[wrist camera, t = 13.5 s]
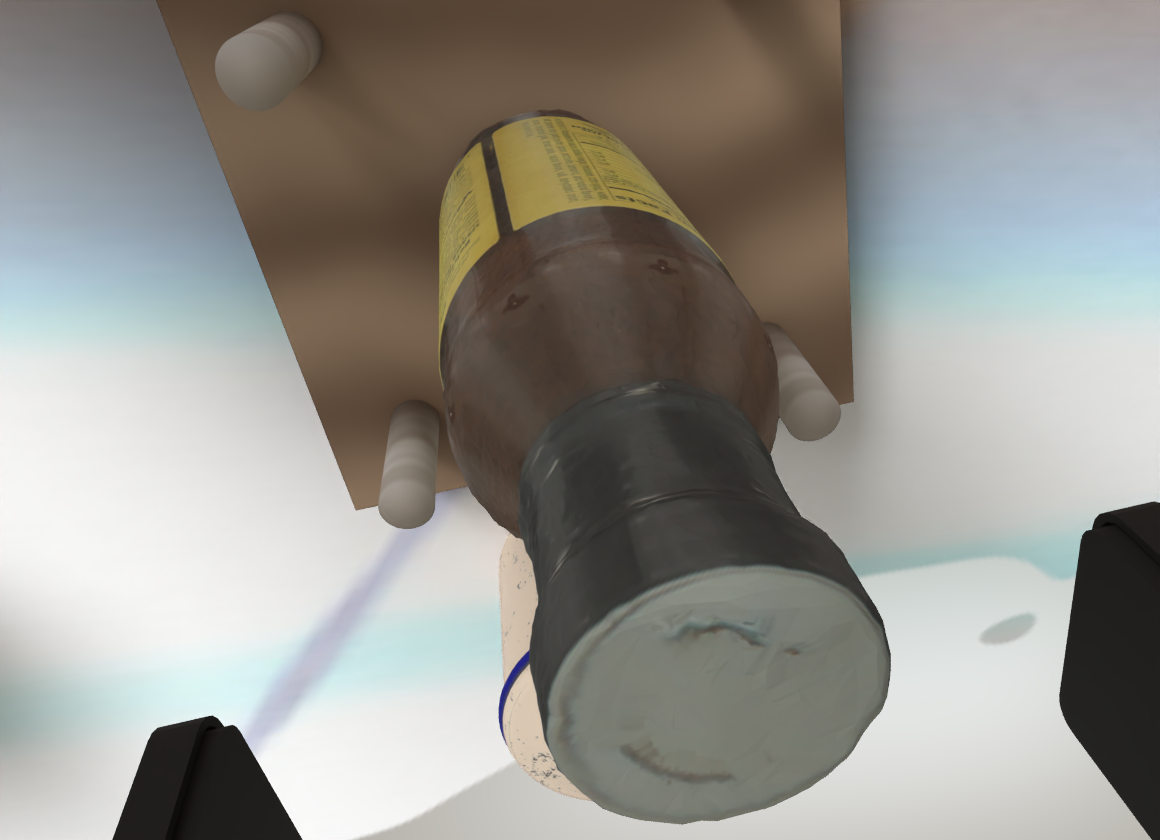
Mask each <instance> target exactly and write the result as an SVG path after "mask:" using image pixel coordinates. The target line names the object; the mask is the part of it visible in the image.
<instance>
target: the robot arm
mask: <svg viewBox="0 0 1160 840" xmlns="http://www.w3.org/2000/svg"><path fill="white" fill-rule="evenodd" d="M1059 697H1060V700H1059V701H1060V706H1061V710H1062V713H1063V716H1064V718H1065V720H1066V723H1067V724H1068V726H1069V728H1070V729H1071V731H1072V732H1073V734H1074V735H1075V736H1076V738H1077V739H1078V741H1079V742H1080V743H1081V744H1082V746H1083V747H1084V749H1085V750H1086V751H1087V753H1088V754H1089V755H1090V757H1091V758H1092V759H1093V761H1094V762H1095V763H1096V765H1097V766H1098V768H1099V769H1100V770H1101V772H1102V773H1103V774H1104V776H1105V777H1106V778H1107V780H1108V781H1109V782H1110V784H1111V785H1112V786H1113V788H1114V789H1115V790H1116V792H1117V793H1118V795H1119V796H1120V797H1121V798H1122V800H1123V801H1124V803H1125V804H1126V805H1127V807H1128V808H1129V809H1130V811H1131V812H1132V813H1133V815H1134V816H1135V817H1136V819H1137V820H1138V822H1139V823H1140V824H1141V826H1142V827H1143V828H1144V830H1145V831H1146V832H1147V834H1148V835H1149V836H1150V838H1151V839H1152V840H1160V503H1158V502H1150V503H1145V504H1141V505H1137V506H1132V507H1128V508H1123V509H1119V510H1114V511H1110V512H1106V513H1102V514H1099V515H1098V516H1097V518H1096V519H1095V521H1094V524H1093V527H1092V530H1088V531H1086V532H1085V533H1084V534H1083V535H1082V539H1081V544H1080V551H1079V558H1078V565H1077V572H1076V579H1075V587H1074V594H1073V601H1072V609H1071V615H1070V623H1069V630H1068V637H1067V644H1066V651H1065V659H1064V666H1063V673H1062V681H1061V687H1060V694H1059ZM112 840H302V838H301V836H300V835H299V833H298V831H297V829H296V828H295V826H294V824H293V822H292V821H291V819H290V817H289V816H288V814H287V812H286V810H285V809H284V807H283V805H282V803H281V802H280V800H279V798H278V796H277V795H276V793H275V791H274V790H273V788H272V786H271V784H270V783H269V781H268V779H267V777H266V776H265V774H264V772H263V770H262V769H261V767H260V765H259V763H258V762H257V760H256V758H255V757H254V755H253V753H252V751H251V750H250V748H249V746H248V744H247V743H246V741H245V739H244V737H243V736H242V734H241V732H240V731H239V730H238V728H237V727H235V726H234V725H230V726H226V727H224V726H223V724H222V723H221V722H220V721H219V719H218V718H216V717H214V716H208V717H203V718H199V719H194V720H190V721H186V722H181V723H177V724H172V725H168V726H163V727H159V728H157V729H156V730H155V731H154V732H153V733H152V734H151V736H150V738H149V740H148V742H147V745H146V748H145V751H144V753H143V756H142V759H141V762H140V764H139V767H138V770H137V773H136V776H135V778H134V781H133V784H132V787H131V789H130V792H129V795H128V798H127V801H126V803H125V806H124V809H123V812H122V814H121V817H120V820H119V823H118V826H117V828H116V831H115V834H114V837H113V839H112Z"/></svg>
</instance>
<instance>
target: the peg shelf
mask: <svg viewBox="0 0 1160 840" xmlns="http://www.w3.org/2000/svg"><path fill="white" fill-rule="evenodd" d="M156 1H157V4H158V6H159V9H160V11H161V14H162V16H163V19H164V22H165V24H166V27H167V29H168V32H169V34H170V37H171V39H172V42H173V45H174V47H175V50H176V52H177V55H178V57H179V60H180V62H181V65H182V68H183V70H184V73H185V75H186V78H187V80H188V83H189V85H190V88H191V91H192V93H193V96H194V98H195V101H196V103H197V106H198V108H199V111H200V114H201V116H202V119H203V121H204V124H205V126H206V129H207V131H208V134H209V137H210V139H211V142H212V144H213V147H214V149H215V152H216V154H217V157H218V160H219V162H220V165H221V167H222V170H223V172H224V175H225V177H226V180H227V183H228V185H229V188H230V190H231V193H232V195H233V198H234V200H235V203H236V205H237V208H238V211H239V213H240V216H241V218H242V221H243V223H244V226H245V228H246V231H247V234H248V236H249V239H250V241H251V244H252V246H253V249H254V251H255V254H256V257H257V259H258V262H259V264H260V267H261V269H262V272H263V274H264V277H265V280H266V282H267V285H268V287H269V290H270V292H271V295H272V297H273V300H274V303H275V305H276V308H277V310H278V313H279V315H280V318H281V320H282V323H283V326H284V328H285V331H286V333H287V336H288V338H289V341H290V343H291V346H292V349H293V351H294V354H295V356H296V359H297V361H298V364H299V366H300V369H301V372H302V374H303V377H304V379H305V382H306V384H307V387H308V389H309V392H310V395H311V397H312V400H313V402H314V405H315V407H316V410H317V412H318V415H319V418H320V420H321V423H322V425H323V428H324V430H325V433H326V435H327V438H328V441H329V443H330V446H331V448H332V451H333V453H334V456H335V458H336V461H337V464H338V466H339V469H340V471H341V474H342V476H343V479H344V481H345V484H346V487H347V489H348V492H349V494H350V497H351V499H352V502H353V504H354V507H355V510H361V509H365V508H370V507H374V506H378V508H379V512H380V515H381V516H382V518H383V519H384V520H385V521H386V522H387V523H389V524H390V525H392V526H395V527H397V528H402V529H412V528H416V527H419V526H422V525H423V524H425V523H426V522H428V521H429V520H430V518H431V517H432V515H433V513H434V509H435V493H438V492H443V491H448V490H452V489H457V488H461V487H466V486H468V485H467V483H466V481H465V480H464V477H463V474H462V472H461V470H460V469H459V466H458V464H457V462H456V460H455V458H454V454H453V452H452V450H451V445H450V443H449V437H448V434H447V424H446V414H445V410H444V398H443V392H444V390H443V386H442V381H441V376H440V371H439V276H440V275H439V219H440V211H441V204H442V200H443V196H444V192H445V189H446V187H447V184H448V181H449V179H450V177H451V175H452V173H453V171H454V168H455V166H456V164H457V162H458V160H459V159H460V157H461V156H462V155H463V153H464V152H465V150H466V149H467V147H468V145H469V143H470V141H471V140H472V139H473V138H475V137H476V136H477V135H478V134H479V133H480V132H481V131H482V130H484V129H485V128H487V127H490V126H492V125H494V124H496V123H497V122H500V121H502V120H504V119H506V118H510V117H512V116H516V115H519V114H522V113H527V112H532V111H538V110H556V109H560V110H565V111H569V112H572V113H574V114H577V115H579V116H581V117H583V118H584V119H586V120H588V121H591V122H593V123H594V124H596V125H598V126H599V127H601V128H603V129H605V130H607V131H608V132H610V133H612V134H613V135H614V136H616V137H617V138H618V139H620V140H621V141H622V142H623V143H624V144H625V145H626V146H627V147H628V148H629V149H630V150H631V151H632V152H633V153H634V154H635V155H636V157H637V158H638V159H639V160H640V161H641V162H642V164H643V165H644V166H645V167H646V169H647V170H648V171H649V172H650V173H651V175H652V176H653V177H654V179H655V180H656V181H657V182H658V184H659V185H660V186H661V187H662V188H663V190H664V191H665V192H666V193H667V195H668V196H669V197H670V198H671V199H672V201H673V202H674V203H675V204H676V206H677V207H678V208H679V209H680V210H681V212H682V213H683V214H684V215H685V217H686V218H687V219H688V220H689V222H690V223H691V224H692V225H693V226H694V228H695V229H696V230H697V231H698V232H699V233H700V235H701V236H702V237H703V238H704V239H705V241H706V242H707V243H708V244H709V245H710V246H711V248H712V249H713V250H714V251H715V252H716V254H717V255H718V256H719V257H720V259H721V260H722V262H723V263H724V264H725V266H726V267H727V269H728V270H729V272H730V273H731V275H732V277H733V279H734V281H735V283H736V286H737V287H738V289H739V290H740V291H741V292H742V294H743V295H744V296H745V298H746V299H747V301H748V302H749V304H750V305H751V307H752V308H753V309H754V310H755V312H756V314H757V316H758V317H759V319H760V321H761V322H762V324H763V326H764V328H765V330H766V331H767V333H768V334H769V336H770V338H771V342H772V345H773V348H774V352H775V355H776V359H777V364H778V378H779V391H780V403H779V406H780V408H779V418H781V419H782V421H783V422H784V424H785V426H786V427H787V429H788V431H789V432H790V433H791V435H792V436H794V437H795V438H797V439H799V440H802V441H815V440H819V439H821V438H823V437H825V436H827V435H828V434H829V433H831V432H832V431H833V430H834V428H835V427H836V426H837V424H838V422H839V419H840V415H841V410H840V406H839V405H841V404H846V403H850V402H854V394H853V366H852V337H851V308H850V280H849V251H848V223H847V194H846V165H845V137H844V108H843V79H842V51H841V22H840V0H156Z"/></svg>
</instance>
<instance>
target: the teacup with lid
mask: <svg viewBox="0 0 1160 840" xmlns="http://www.w3.org/2000/svg"><path fill="white" fill-rule="evenodd" d="M499 587H500V609H501V630H502V652H503V673H504V687H503V690H502V693H501V697H500V703H499V723H500V729H501V732H502V736H503V738H504V740H505V743H506V745H507V746H508V748H509V751H510V753H511V754H512V756H513V757H514V759H515V760H516V762H517V763H518V764H519V765H520V766H521V768H522V769H524V771H525V772H526V773H527V774H528V775H529V776H531V777H532V778H533V779H535V780H536V781H537V782H539V783H540V784H542V785H544V786H545V787H547V788H549V789H551V790H553V791H555V792H558V793H560V794H563V795H566V796H570V797H573V798H577V799H582V800H588V801H592V800H591V799H589V798H588V797H587V796H585V795H584V794H583V793H581V792H580V791H579V790H578V789H577V788H576V787H575V786H574V785H573V784H572V783H571V782H570V781H569V780H568V779H567V778H566V776H564V775H563V774H562V773H561V772H560V771H558V770H557V767H556V763H555V760H554V758H553V756H552V754H551V752H550V750H549V748H548V746H547V744H546V742H545V740H544V735H543V728H542V722H541V717H540V712H539V708H538V704H537V695H536V690H535V687H534V683H533V679H532V675H531V671H530V663H529V649H530V639H531V634H532V624H533V621H534V616H535V610H536V608H537V606H538V594H537V589H536V582H535V576H534V571H533V565H532V561H531V559H530V557H529V556H528V554H527V552H526V550H525V546H524V542H523V540H522V539H520V538H515V537H514V536H513V535H512V534H511V533H510V534H509V536H508V538H507V539H506V541H505V544H504V546H503V549H502V553H501V557H500V563H499Z"/></svg>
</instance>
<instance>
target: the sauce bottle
mask: <svg viewBox="0 0 1160 840" xmlns="http://www.w3.org/2000/svg"><path fill="white" fill-rule="evenodd" d="M439 275H440V276H439V371H440V376H441V381H442V386H443V390H444V392H443V398H444V410H445V414H446V424H447V434H448V437H449V443H450V445H451V450H452V452H453V454H454V458H455V460H456V462H457V464H458V466H459V469H460V470H461V472H462V474H463V477H464V480H465V481H466V483H467V485H468V487H469V489H470V491H471V493H472V494H473V495H474V497H475V498H476V499H477V500H478V502H479V503H480V504H481V505H482V506H483V507H484V508H485V509H486V510H487V511H488V513H489V514H490V516H491V517H492V518H493V520H494V521H495V522H497V523H498V525H500V526H502V527H504V528H506V529H507V530H508V531H509V532H510V533H511V534H512V535H513V536H514V537H515V538H520V539H522V540H523V542H524V546H525V550H526V552H527V554H528V556H529V557H530V559H531V561H532V565H533V571H534V576H535V582H536V589H537V594H538V606H537V608H536V610H535V616H534V621H533V624H532V634H531V639H530V649H529V663H530V671H531V675H532V679H533V683H534V687H535V690H536V695H537V704H538V708H539V712H540V717H541V722H542V728H543V735H544V740H545V742H546V744H547V746H548V748H549V750H550V752H551V754H552V756H553V758H554V760H555V763H556V767H557V770H558V771H560V772H561V773H562V774H563V775H564V776H566V778H567V779H568V780H569V781H570V782H571V783H572V784H573V785H574V786H575V787H576V788H577V789H578V790H579V791H580V792H581V793H583V794H584V795H585V796H587V797H588V798H589V799H591V800H592V801H593V802H595V803H596V804H598V805H599V806H600V807H602V808H603V809H605V810H608V811H611V812H613V813H616V814H619V815H622V816H626V817H630V818H634V819H639V820H645V821H655V822H664V823H674V824H687V823H691V822H696V821H701V820H703V821H719V820H722V819H726V818H730V817H734V816H737V815H742V814H745V813H749V812H753V811H757V810H761V809H765V808H768V807H771V806H774V805H776V804H778V803H780V802H782V801H784V800H786V799H788V798H790V797H792V796H794V795H796V794H798V793H800V792H802V791H804V790H806V789H808V788H810V787H811V786H813V785H814V784H815V783H817V782H818V781H819V780H821V779H822V778H824V777H826V776H827V775H828V774H829V773H830V772H832V771H833V769H835V768H836V767H837V766H838V765H839V764H840V763H841V762H843V761H844V760H845V759H847V757H848V756H849V755H850V754H851V752H852V751H853V750H854V748H855V746H856V745H857V743H858V741H859V740H860V738H861V736H862V734H863V733H864V731H865V730H866V729H867V727H868V726H869V725H870V723H871V722H872V721H873V720H874V719H875V717H876V716H877V715H878V714H879V713H880V712H881V710H882V708H883V706H884V703H885V700H886V698H887V693H888V687H889V681H890V671H891V669H890V668H891V653H890V649H889V645H888V641H887V637H886V633H885V628H884V624H883V620H882V618H881V616H880V614H879V612H878V610H877V608H876V606H875V605H874V603H873V602H872V600H871V599H870V597H869V596H868V594H867V593H866V591H865V589H864V587H863V586H862V584H861V582H860V581H859V579H858V577H857V576H856V574H855V573H854V571H853V570H852V568H851V567H850V565H849V564H848V562H847V560H846V558H845V556H844V554H843V552H842V551H841V550H840V548H839V547H838V546H837V545H836V544H835V543H834V542H833V541H832V540H831V539H830V538H829V536H828V535H827V534H826V532H824V531H823V530H821V529H820V528H818V527H817V526H815V525H814V524H812V523H811V522H809V521H808V520H806V519H804V518H803V517H801V515H800V514H799V512H798V511H797V509H796V507H795V506H794V504H793V503H792V501H791V499H790V498H789V496H788V495H787V493H786V491H785V490H784V488H783V486H782V484H781V481H780V479H779V477H778V475H777V474H776V472H775V468H774V464H773V461H772V457H771V455H770V453H771V450H772V447H773V443H774V440H775V435H776V431H777V423H778V419H779V408H780V406H779V403H780V391H779V378H778V364H777V359H776V355H775V352H774V348H773V345H772V342H771V338H770V336H769V334H768V333H767V331H766V330H765V328H764V326H763V324H762V322H761V321H760V319H759V317H758V316H757V314H756V312H755V310H754V309H753V308H752V307H751V305H750V304H749V302H748V301H747V299H746V298H745V296H744V295H743V294H742V292H741V291H740V290H739V289H738V287H737V286H736V283H735V281H734V279H733V277H732V275H731V273H730V272H729V270H728V269H727V267H726V266H725V264H724V263H723V262H722V260H721V259H720V257H719V256H718V255H717V254H716V252H715V251H714V250H713V249H712V248H711V246H710V245H709V244H708V243H707V242H706V241H705V239H704V238H703V237H702V236H701V235H700V233H699V232H698V231H697V230H696V229H695V228H694V226H693V225H692V224H691V223H690V222H689V220H688V219H687V218H686V217H685V215H684V214H683V213H682V212H681V210H680V209H679V208H678V207H677V206H676V204H675V203H674V202H673V201H672V199H671V198H670V197H669V196H668V195H667V193H666V192H665V191H664V190H663V188H662V187H661V186H660V185H659V184H658V182H657V181H656V180H655V179H654V177H653V176H652V175H651V173H650V172H649V171H648V170H647V169H646V167H645V166H644V165H643V164H642V162H641V161H640V160H639V159H638V158H637V157H636V155H635V154H634V153H633V152H632V151H631V150H630V149H629V148H628V147H627V146H626V145H625V144H624V143H623V142H622V141H621V140H620V139H618V138H617V137H616V136H614V135H613V134H612V133H610V132H608V131H607V130H605V129H603V128H601V127H599V126H598V125H596V124H594V123H593V122H591V121H588V120H586V119H584V118H583V117H581V116H579V115H577V114H574V113H572V112H569V111H565V110H560V109H556V110H538V111H532V112H527V113H522V114H519V115H516V116H512V117H510V118H506V119H504V120H502V121H500V122H497V123H496V124H494V125H492V126H490V127H487V128H485V129H484V130H482V131H481V132H480V133H479V134H478V135H477V136H476V137H475V138H473V139H472V140H471V141H470V143H469V145H468V147H467V149H466V150H465V152H464V153H463V155H462V156H461V157H460V159H459V160H458V162H457V164H456V166H455V168H454V171H453V173H452V175H451V177H450V179H449V181H448V184H447V187H446V189H445V192H444V196H443V200H442V204H441V211H440V219H439Z"/></svg>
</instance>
